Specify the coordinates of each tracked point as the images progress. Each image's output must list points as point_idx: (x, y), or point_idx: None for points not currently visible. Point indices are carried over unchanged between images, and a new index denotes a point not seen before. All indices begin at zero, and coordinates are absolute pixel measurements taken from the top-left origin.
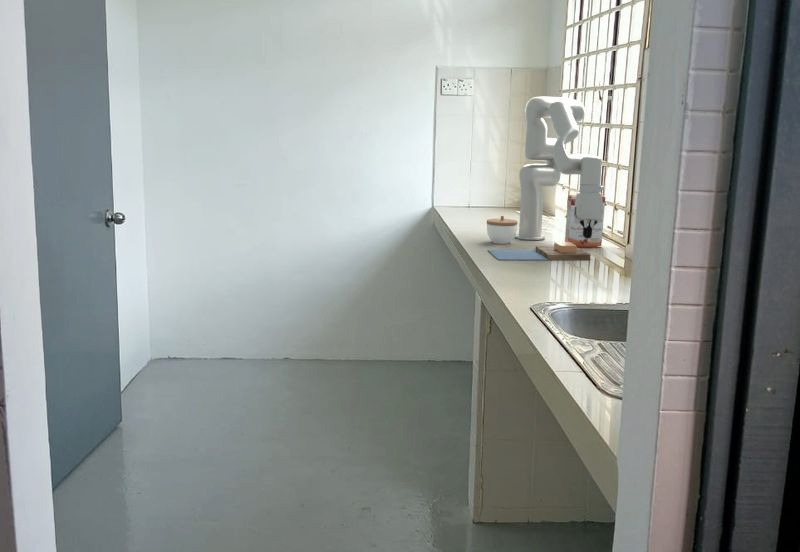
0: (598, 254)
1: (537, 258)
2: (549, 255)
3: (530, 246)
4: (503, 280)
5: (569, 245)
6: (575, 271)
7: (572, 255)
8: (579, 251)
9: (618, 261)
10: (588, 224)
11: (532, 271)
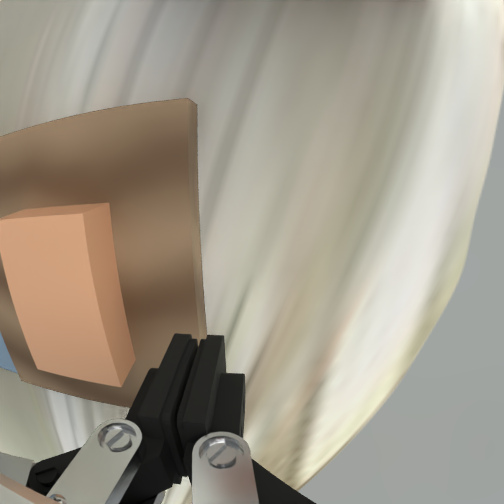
0: (338, 230)
1: (1, 356)
2: (27, 379)
3: (9, 5)
4: None
5: (77, 369)
6: None
7: (114, 401)
8: (160, 332)
9: (346, 417)
10: (193, 466)
11: None
